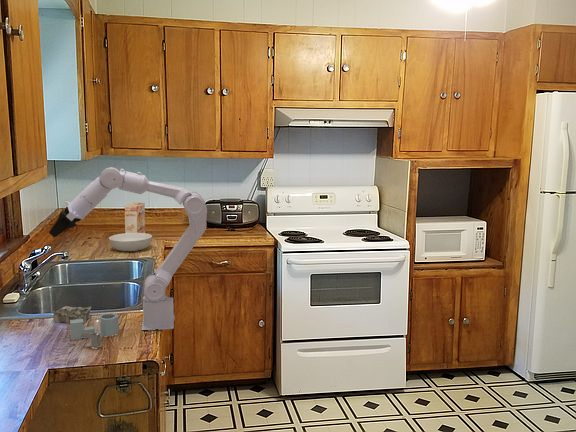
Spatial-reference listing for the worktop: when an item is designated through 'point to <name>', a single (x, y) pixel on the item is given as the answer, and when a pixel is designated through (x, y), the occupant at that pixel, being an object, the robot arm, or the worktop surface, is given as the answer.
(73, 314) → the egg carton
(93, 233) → the worktop surface
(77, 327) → the link
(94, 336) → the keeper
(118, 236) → the serving bowl
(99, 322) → the pintle
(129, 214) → the coffeecake box
